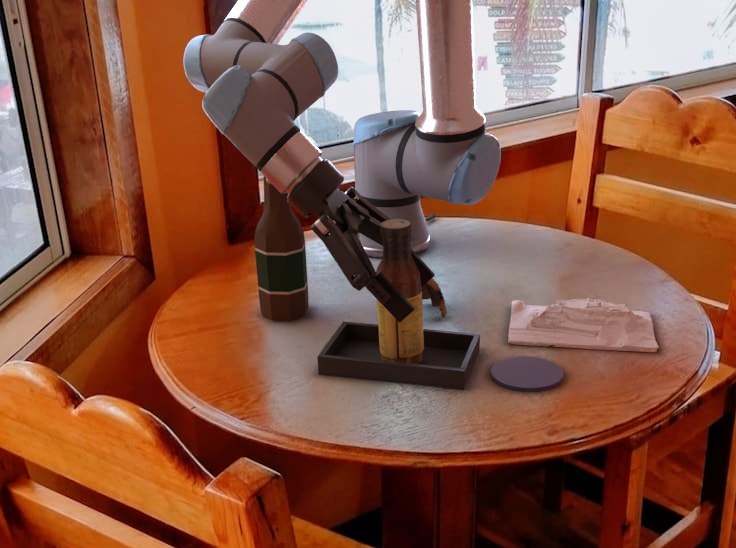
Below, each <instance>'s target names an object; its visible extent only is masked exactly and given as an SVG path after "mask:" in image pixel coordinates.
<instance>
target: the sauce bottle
mask: <svg viewBox="0 0 736 548" xmlns="http://www.w3.org/2000/svg"><path fill="white" fill-rule="evenodd" d="M411 232H412V230H411V223H410V222H409V221H407V220H403V219H391V220H386V221H384V222H382V223H381V235H382V238H383V258H381V260H380V262H379V263H378V266H377V267H376V269H375V271H376V273H377V274H378V273H379V272H381V273H382V274H383V275H384V276H385V277H386V278H387V279H388V280H389V281H390V282H391V283H392V284H393V285H394V287H395V288H396V289H397V290H398V291H399V292H400V293H401V294H402V295H403V296H404V297H405V298H406V299H407V300H408V301H409V302H410V304H411V305H412V306H413V307H414V308H415V309H414V311H413V312H412V313H410V314H409V315H408V316H407V317H406V318H405V319H404V320H402V321H401V322H400V323H399V322H398V321H397V320H396V319H395V318H394V317H393V315H392V314H391V313H390V312H389V311H388V310H387V309H386V308H385V307H384V306H383V305H382V304H381V303H380V302H379V301H378V300H377V299H376V307H377V322H378V323H377V324H378V325H379V343H380V353H381V357H382V361H390V362H400V363H410V364H420V363H421V362H422V360H423V350H424V337H423V329H424V317H423V316H424V315H423V314H424V313H423V311H424V310H423V300H422V288H421V281H420V272H419V270H418V269H417V267H416V264H415V262H414V260H413V258H412V256H411V245H410V235H411Z"/></svg>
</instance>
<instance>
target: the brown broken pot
mask: <svg viewBox="0 0 736 548" xmlns="http://www.w3.org/2000/svg"><path fill="white" fill-rule="evenodd" d="M421 288H422V301H423V300H425V301H426V300H429V299H430V302H431V307H438V310H439V311H440V312H441V313H440V315H441V318H442V319H446V317H447V313H448V311H447V307H446V300H445V297H444V295H443V294H444V293H443V291H442V290H441V288H440V285H439V284H438V283H437V281H436V280H435V279H434V277H433V278H432V279H431V280H429V281H428V282H427V283H426V284H425V285H424V286H423V287H421Z"/></svg>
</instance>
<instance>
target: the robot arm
mask: <svg viewBox="0 0 736 548" xmlns="http://www.w3.org/2000/svg"><path fill="white" fill-rule="evenodd" d="M307 2H308V0H237V1H236V3H235V4H234V6H233V7H232V9H231V10H230V11H229V12H228V14H227V16H226V17H225V19H224V20H223V22H222V23H221V24H220V26H219V27H218V29H217V30H216V32H215V33H214V34H209V33H206V34H201V35H196V36H194V37H193V38H191V40H190V41H188V43H187V45H186V47H185V50H184V53H183V60H182V61H183V62H182V63H183V69H184V73H185V76H186V78H187V80H188V83H189V84H191V86H192V87H193V88H195V90H197V91H199V92H202V93H205V94H204V95H203V98H202V102H201V107H202V111H203V112H204V113H205V114H206V116H207V117H208V118H209V120H210V121H211V122H212V123H213V125H214V126H215V127H216V128H217V130H219V132H220V134H221V135H224V136H225V138H226V139H228V141H230V142H231V143H232V144H233V146H234V147H235V148H236V149H237V150H238V151H239V152H240V153H241V154H242V155H243V156H244V157H245V158H246V159H247V160H248V161H249V162H250V163H251V164H252V165H253V166H254V167H255V168H256V169H257V170H258V171H259V172H260V173H261V175H263V177H264V176H265V177H266V178H267V179H266V181H267V183H268V184H272V185H273V186H274V187H275V188H276V189H277V190H278V191H279V192H280V193H281V194H284V193H287V194H288V195H289V196H288V197H287V199H288V202H289V203H290V205H291V207H292V208H294V209H295V210H296V212H297V213H298V214H299V215H300V216H301V217H302V218H304V219H307V218H308V219H309V218H310V216H312V215H313V214H314V215H315V216H316V218H317V220H315V222H313V224H312V225H310V228H311V230H312V231H313V233H314V234H315V235H316V237H318V238H319V240H320V241H321V242H322V243H323V244H324V246H325V247H326V249H327V251H328V252H329V253H330V255H331V257H332V259H333V260H334V262H335V263H336V264H337V266H338V267H339V269H340V270H341V272H342V273H343V275H344V277H345V278H346V280H347V281H348V282H349V284H350V286H351V287H352V288H354V289H356V290H357V291H359V292H361V291H362V290H363V289H364V288H365V289H366V290H368V291H369V293H370V294H372V296H373V297H374V298H375V299H376V301H377V300H378V301H379V302H380V303H381V304H382V305H383V306H384V307H385V308H386V309H387V310H388V311H389V312H390V313H391V314H392V315H393V317H394V318H395V319H396V320H397V321H398V322H399V323H400V322H401V321H402V320H404V319H405V318H406V317H407V316H408V315H409V314H410V313H412V312H413V311H414V309H415V308H414V307H413V306H412V305H411V304H410V302H409V301H408V300H407V299H406V298H405V297H404V296H403V295H402V294H401V293H400V292H399V291H398V290H397V289H396V288H395V287H394V285H393V284H392V283H391V282H390V281H389V280H388V279H387V278H386V277H385V276H384V275H383V274H382V273H381V272H379V273H378V274H377V273H376V269H375V267H374V265H373V263H372V261H371V259H370V257H371V258H381V259H382V258H383V238H382V235H381V223H382V222H384V221H386V220H391V219H403V220H407V221H409V222H410V223H411V230H412V232H411V235H410V245H411V256H412V258H413V260H414V262H415V264H416V267H417V269H418V270H419V272H420V281H421V287H423V286H424V285H425V284H426V283H427V282H428V281H429V280H431V279H432V278H433V279H434V277H435V275H436V273H435V272H434V271H432V269H431V268H430V267H429V266H428V265H427V264H426V263H425V262H424V261H423V260H422V259H421V258H420V256H419V255H418V254H421V253H422V252H424V251H427V250H428V248H429V247H430V244H431V241H430V239H431V237H430V236H431V235H430V230H429V228H428V224H427V222H429V221H432V220H433V219H435V218H436V217H437V215H436V214H435V213H433V214H431V215H429V216H427V217H425V214H424V211H423V208H422V205H421V197H424V198H429V199H433V200H437V201H442V202H447V203H450V204H452V205H456V204H460V205H465V206H466V205H467V206H472V205H475V204H478V203H479V202H481V201H482V200H484V198H485V197H486V196H487V195H488V194H489V193H490V191H491V189H492V187H493V185H494V183H495V181H496V179H497V177H498V173H499V171H500V166H501V159H502V149H501V144H500V142H499V141H498V138H497V136H496V137H495V136H494V135H492V133H487V130H486V129H487V127H486V126H487V125H486V116H485V114H484V113H482V112H481V111H480V109H478V108H477V105H476V79H475V78H476V77H475V76H476V75H475V53H474V51H475V49H474V48H475V47H474V27H473V26H474V23H473V21H474V20H473V0H415V13H416V25H417V26H416V27H417V37H418V39H417V40H418V52H419V68H420V69H419V70H420V81H421V82H420V83H421V95H422V110H423V111H422V112H421V113H420V112H418V111H417V110H412V109H411V110H410V109H407V110H406V109H401V110H400V109H399V110H390V111H389V110H388V111H381V112H375V113H370V114H367V115H363V116H361V117H359V118H358V119H357V120H356V122H355V123H354V125H353V126H354V127H353V142H352V146H353V163H354V164H353V165H354V187H353V186H350V187H349V188H348V189H347V190H346V191H345V192H344V191H342V190H341V189H340V186H341V185H342V184H343V183H344V181H345V177H344V175H343V174H342V173H341V171H340V170H339V169H338V168H337V167H336V166H335V165H334V164H333V163H332V162H331V160H329V159H326V158H324V159H322V155H323V152H322V150H321V149H320V148H319V147H318V146H317V145H316V144H315V142H313V141H312V140H311V139H310V138H309V136H307V135H306V134H305V133H304V132H303V130H302V129H301V128H300V127H299V126H298V125H297V123H295V121H296V119H297V118H298V117H299V116H301V115H302V114H304V112H306V111H307V110H308V109H309V108H310V107H311V106H312V105H314V104H315V103H316V102H317V101H318V100H319V99H321V98H323V97H324V96H325V94H326V92H327V91H328V90H329V89H330V88H331V87H332V86H333V85H334V84H335V83H336V81H337V79H338V77H339V72H340V71H339V70H340V67H339V62H338V58H337V55H336V53H335V51H334V49H333V47H332V46H331V45H330V43H329V42H327V40H325V38H324V37H322V36H320V35H319V34H316V33H314V32H304V33H301V34H299V35H298V36H296V37H293V38H292V39H291V40H290V41H289V42H288V43H287V44H280V42H281V40H282V39H283V37H284V36H285V34H286V33H287V32H288V30H289V29H290V28H291V25H292V24H293V22H294V21H295V20H296V19H297V17H298V15H299V14H300V12H301V11H302V9H303V8H304V6H305V5H306V3H307Z"/></svg>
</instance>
